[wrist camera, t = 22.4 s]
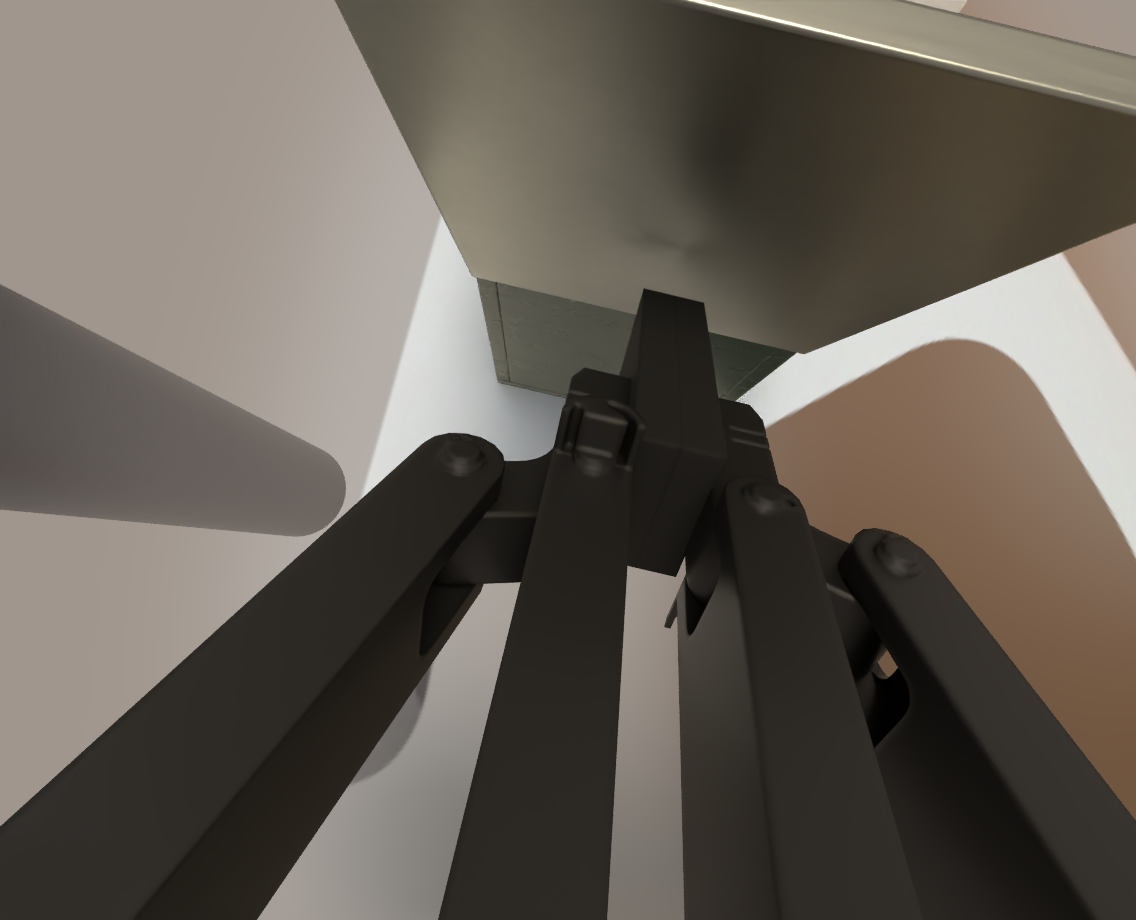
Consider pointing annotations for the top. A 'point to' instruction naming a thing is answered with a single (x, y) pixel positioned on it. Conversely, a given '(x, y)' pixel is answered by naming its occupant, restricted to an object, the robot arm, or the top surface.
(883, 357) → the top surface
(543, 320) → the bin
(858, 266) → the bin lid
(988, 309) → the top surface
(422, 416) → the top surface
